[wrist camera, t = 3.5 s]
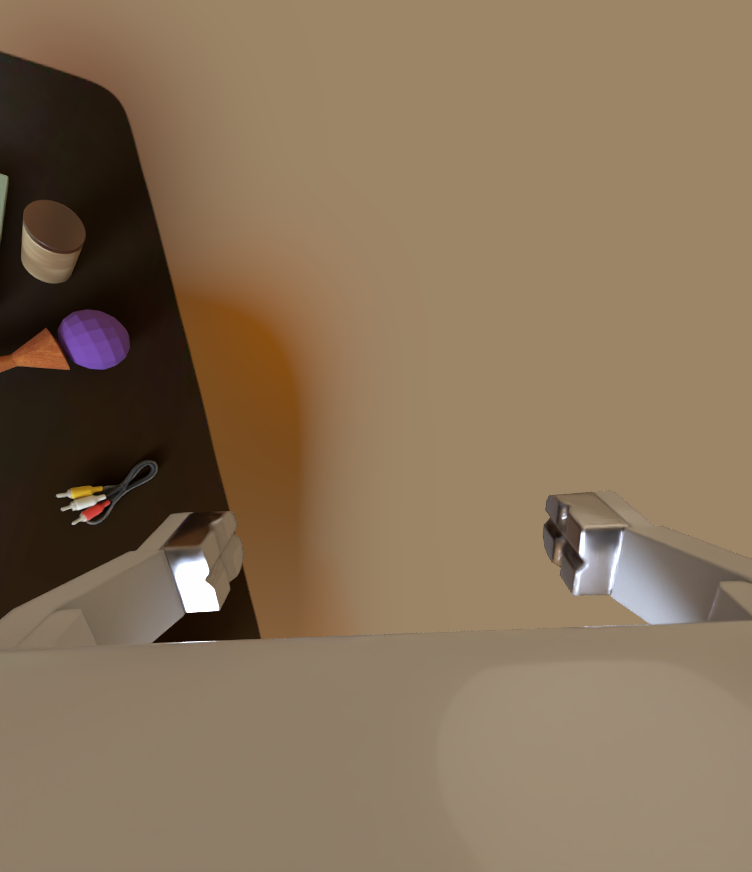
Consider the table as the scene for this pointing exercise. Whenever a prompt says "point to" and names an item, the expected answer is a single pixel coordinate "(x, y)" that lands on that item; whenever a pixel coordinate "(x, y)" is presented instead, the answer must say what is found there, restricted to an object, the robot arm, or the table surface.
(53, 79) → the table surface
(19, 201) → the table surface
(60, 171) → the table surface
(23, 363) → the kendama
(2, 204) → the sage pad
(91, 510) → the composite cable
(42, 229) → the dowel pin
